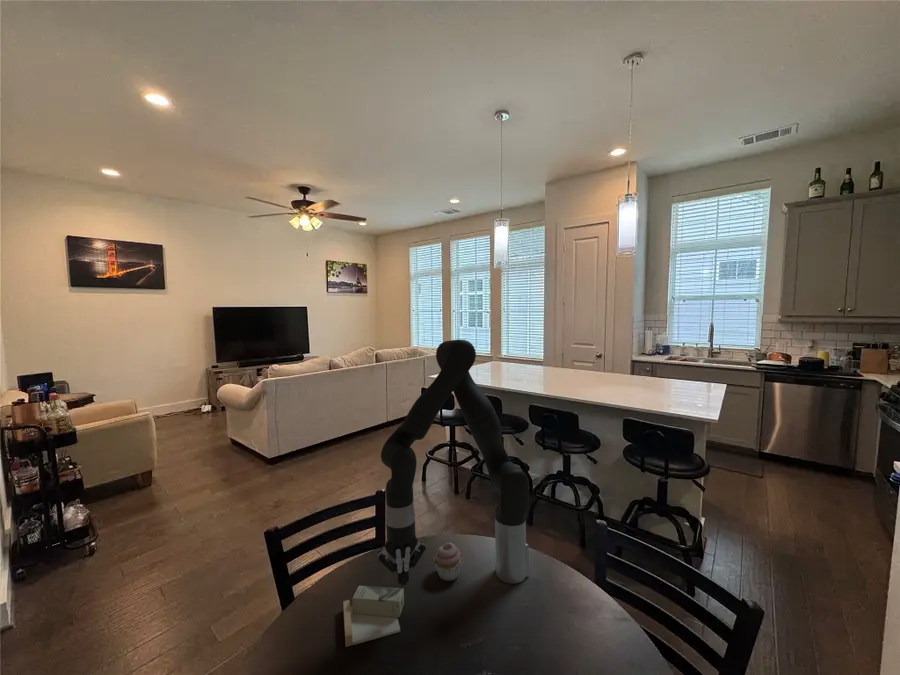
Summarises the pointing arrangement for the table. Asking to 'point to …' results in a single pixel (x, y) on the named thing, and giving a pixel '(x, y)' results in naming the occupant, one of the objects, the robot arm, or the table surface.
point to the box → (378, 601)
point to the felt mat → (366, 626)
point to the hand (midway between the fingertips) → (403, 583)
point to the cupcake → (448, 562)
